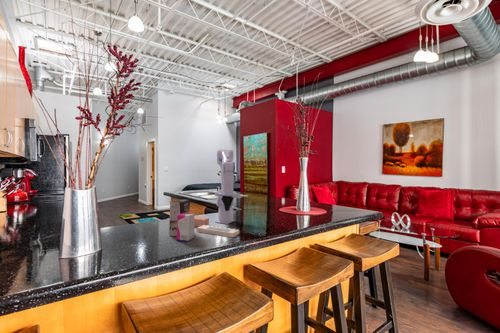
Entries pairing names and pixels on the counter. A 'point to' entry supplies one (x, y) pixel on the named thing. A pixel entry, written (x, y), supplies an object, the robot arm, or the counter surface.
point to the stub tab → (200, 221)
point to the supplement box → (185, 227)
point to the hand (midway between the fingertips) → (227, 210)
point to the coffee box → (177, 213)
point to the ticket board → (218, 230)
